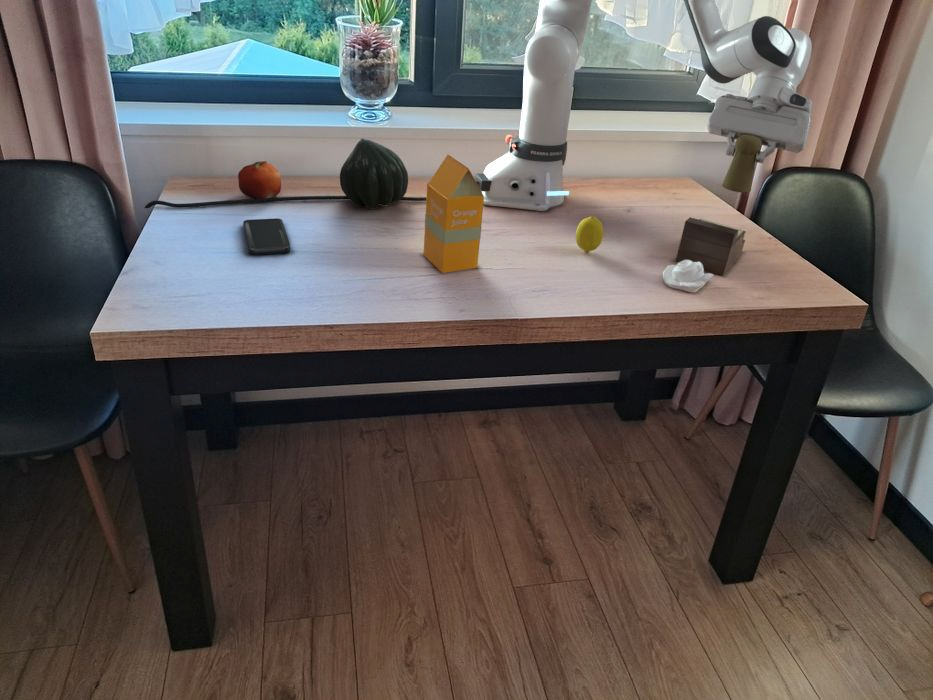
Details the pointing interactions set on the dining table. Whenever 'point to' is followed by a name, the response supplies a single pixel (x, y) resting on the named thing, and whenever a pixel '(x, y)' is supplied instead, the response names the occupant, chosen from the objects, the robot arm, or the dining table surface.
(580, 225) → the lemon
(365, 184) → the squash
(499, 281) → the dining table surface
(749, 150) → the cork
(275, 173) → the tomato
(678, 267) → the rose
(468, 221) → the orange juice
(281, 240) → the phone
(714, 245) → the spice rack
